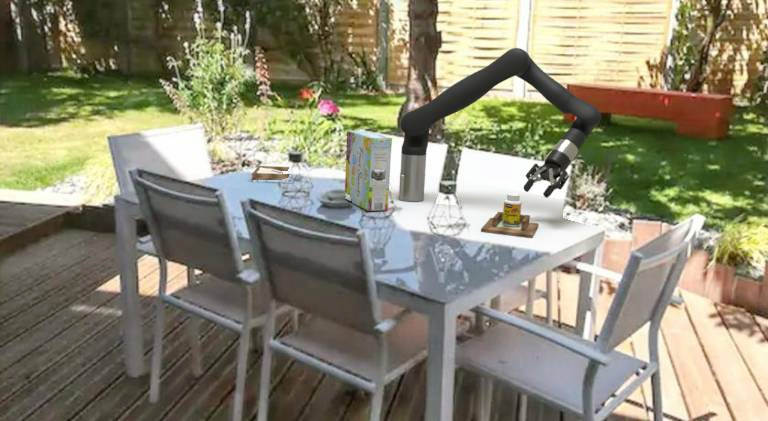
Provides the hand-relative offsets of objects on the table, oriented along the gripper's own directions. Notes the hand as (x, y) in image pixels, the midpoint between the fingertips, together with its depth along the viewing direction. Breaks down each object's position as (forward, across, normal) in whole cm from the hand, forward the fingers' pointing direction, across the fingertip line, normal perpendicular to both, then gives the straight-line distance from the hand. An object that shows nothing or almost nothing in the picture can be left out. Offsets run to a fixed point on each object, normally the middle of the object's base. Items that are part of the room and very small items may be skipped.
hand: (535, 193), depth 235 cm
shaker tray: (+37, -105, -19) cm, 113 cm away
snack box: (+32, -49, -15) cm, 60 cm away
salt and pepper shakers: (+39, -105, -20) cm, 114 cm away
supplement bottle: (+14, 0, -1) cm, 14 cm away
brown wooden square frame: (+15, 0, 0) cm, 15 cm away
